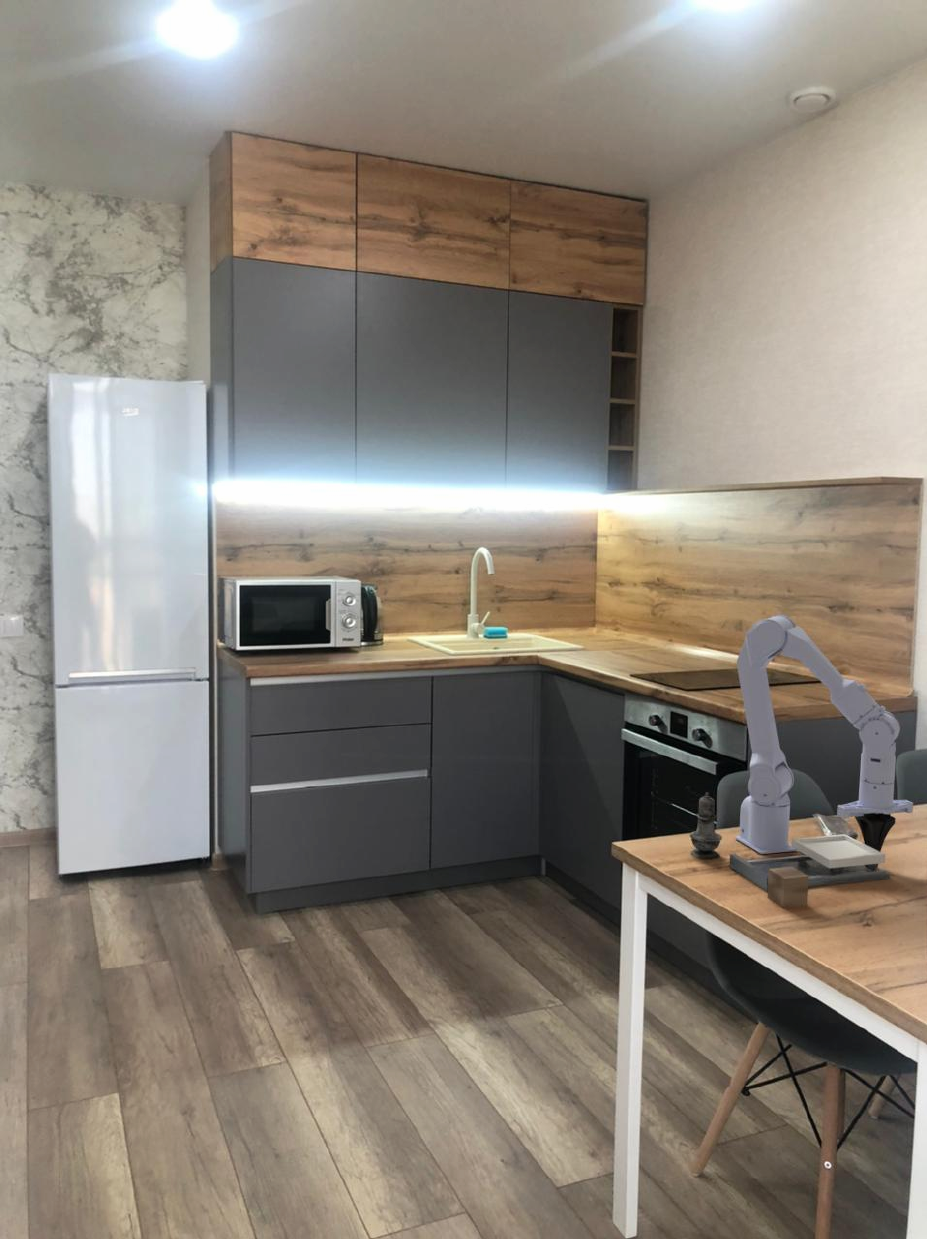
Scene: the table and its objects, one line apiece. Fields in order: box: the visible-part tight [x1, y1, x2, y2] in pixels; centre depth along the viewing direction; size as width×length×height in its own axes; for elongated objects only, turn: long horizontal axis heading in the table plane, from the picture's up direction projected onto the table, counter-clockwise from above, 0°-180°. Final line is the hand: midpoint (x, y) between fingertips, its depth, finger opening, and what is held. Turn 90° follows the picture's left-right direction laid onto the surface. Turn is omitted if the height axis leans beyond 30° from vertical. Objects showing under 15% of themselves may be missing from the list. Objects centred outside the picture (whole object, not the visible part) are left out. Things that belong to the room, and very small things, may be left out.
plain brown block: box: [767, 867, 809, 908], centre depth 165 cm, size 4×4×5 cm
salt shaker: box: [689, 791, 723, 860], centre depth 186 cm, size 6×6×12 cm
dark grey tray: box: [728, 853, 891, 893], centre depth 178 cm, size 12×24×2 cm, turn 106°
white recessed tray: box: [791, 834, 886, 874], centre depth 179 cm, size 11×11×3 cm
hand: (872, 853), depth 182 cm, fingers closed
